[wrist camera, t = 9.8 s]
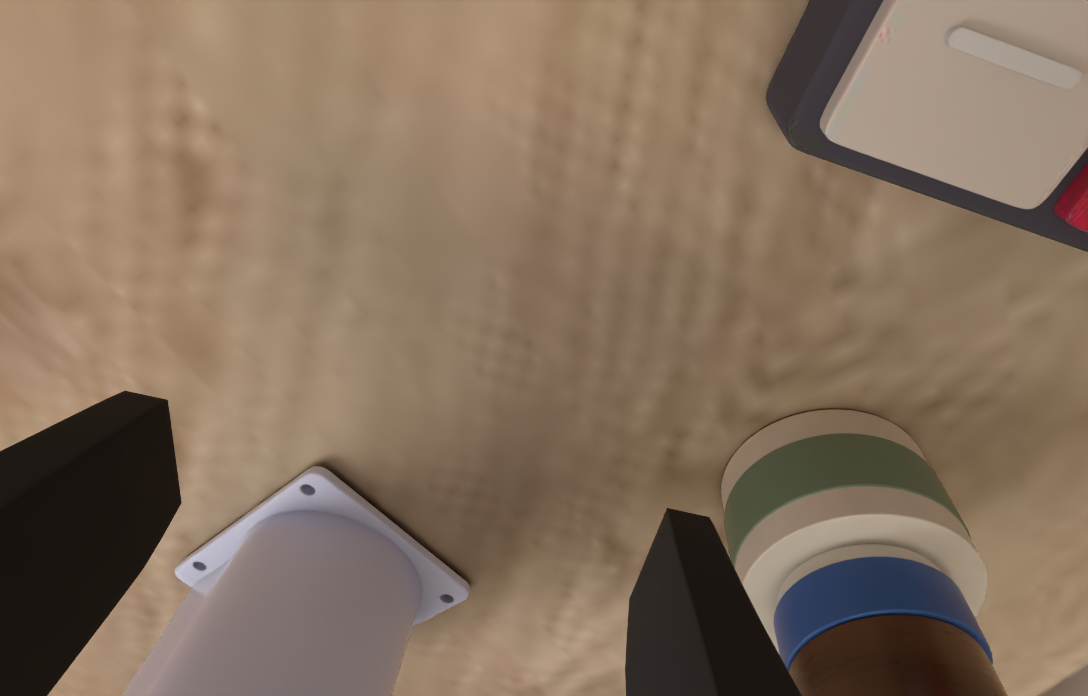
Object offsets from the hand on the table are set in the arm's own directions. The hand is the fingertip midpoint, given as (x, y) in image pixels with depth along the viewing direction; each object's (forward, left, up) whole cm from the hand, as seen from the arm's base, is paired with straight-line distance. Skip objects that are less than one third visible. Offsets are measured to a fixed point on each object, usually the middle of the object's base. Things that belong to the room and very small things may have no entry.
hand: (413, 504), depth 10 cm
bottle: (+2, -13, -10) cm, 17 cm away
